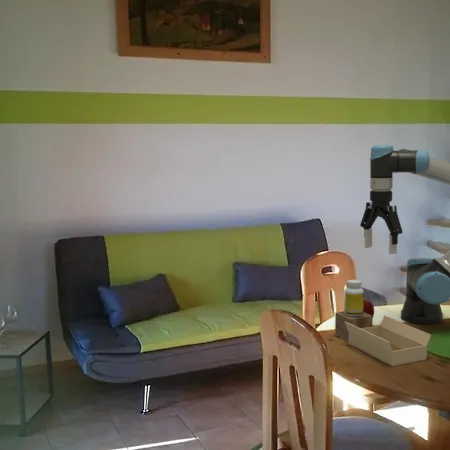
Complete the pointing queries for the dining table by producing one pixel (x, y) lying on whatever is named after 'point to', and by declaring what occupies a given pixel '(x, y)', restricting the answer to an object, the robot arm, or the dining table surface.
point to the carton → (390, 341)
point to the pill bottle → (354, 298)
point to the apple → (368, 308)
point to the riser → (357, 321)
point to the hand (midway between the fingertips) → (380, 250)
